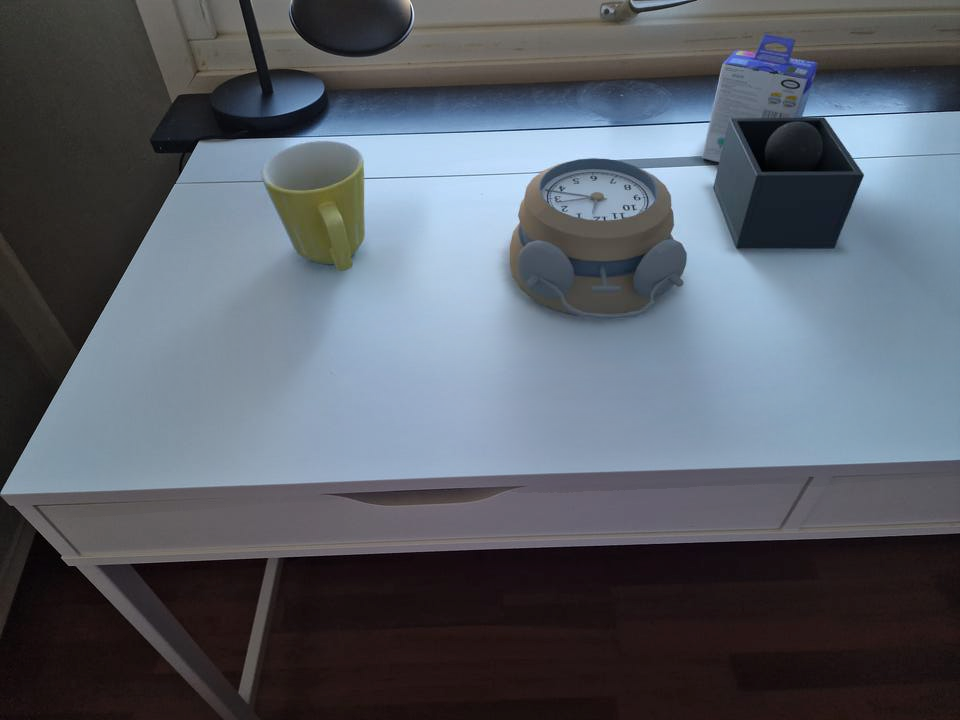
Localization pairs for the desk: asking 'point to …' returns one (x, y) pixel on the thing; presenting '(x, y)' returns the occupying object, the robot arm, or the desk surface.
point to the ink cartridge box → (758, 89)
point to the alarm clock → (596, 240)
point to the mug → (319, 199)
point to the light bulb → (794, 148)
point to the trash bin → (783, 189)
